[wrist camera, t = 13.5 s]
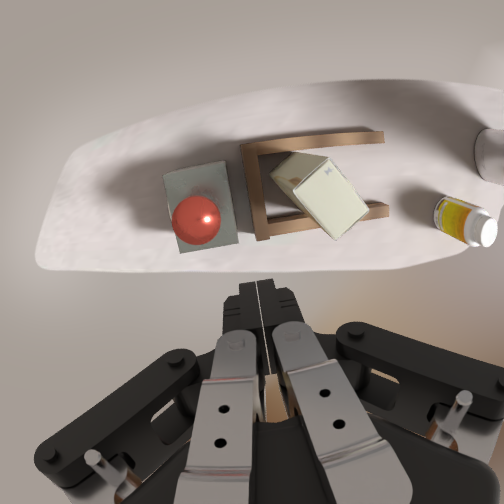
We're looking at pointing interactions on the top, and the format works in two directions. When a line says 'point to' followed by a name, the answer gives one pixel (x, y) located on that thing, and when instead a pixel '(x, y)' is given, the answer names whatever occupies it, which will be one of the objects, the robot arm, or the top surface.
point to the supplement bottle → (465, 222)
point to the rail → (251, 150)
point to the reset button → (196, 220)
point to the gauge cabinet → (209, 185)
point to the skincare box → (320, 192)
